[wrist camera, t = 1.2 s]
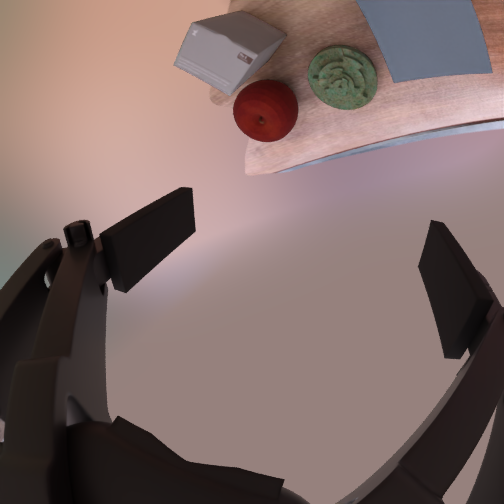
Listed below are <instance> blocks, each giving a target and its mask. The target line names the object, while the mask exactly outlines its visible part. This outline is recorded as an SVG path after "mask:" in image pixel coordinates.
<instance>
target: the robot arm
mask: <svg viewBox="0 0 504 504" xmlns="http://www.w3.org/2000/svg"><path fill="white" fill-rule="evenodd" d="M192 192H193V191H192V188H188V187H181V188H178V189H177V190H175V191H173V192H171V193H169V194H167V195H166V196H163V197H161V198H160V199H158V200H156V201H154V202H153V203H151V204H149V205H147V206H145V207H144V208H142V209H140V210H138V211H137V212H135V213H133V214H131V215H130V216H128V217H126V218H125V219H123V220H121V221H120V222H118V223H116V224H115V225H113V226H111V227H110V228H108V229H107V230H105V231H103V232H102V233H100V234H99V235H100V236H99V237H98V238H96V239H95V240H94V238H93V234H92V230H91V226H90V221H88V220H79V221H76V222H73V223H70V224H69V225H67V226H65V227H64V229H63V230H64V234H65V237H66V241H67V244H68V247H67V248H62V246H61V243H60V239H57V238H53V239H51V238H50V239H47V240H45V241H44V242H43V243H41V244H40V245H39V246H38V247H37V248H36V249H35V250H34V251H33V252H32V253H31V254H30V256H29V257H28V258H27V259H26V260H25V261H24V262H23V263H22V264H21V266H20V267H19V268H18V269H17V270H16V271H15V273H14V274H13V275H12V276H11V278H10V279H9V280H8V281H7V282H6V284H5V285H4V286H3V288H2V289H1V290H0V504H310V503H309V502H307V501H306V500H305V499H303V498H302V497H301V496H299V495H297V494H295V493H294V492H292V491H290V490H288V489H286V488H284V487H282V486H283V483H284V479H280V478H276V477H271V476H267V475H263V474H258V473H255V472H251V471H247V470H244V469H241V468H237V467H236V468H235V467H225V466H216V465H208V464H200V463H194V462H189V461H186V460H184V459H183V458H181V457H180V456H179V455H177V454H176V453H175V452H173V451H172V450H171V449H169V448H168V447H167V446H166V445H165V444H163V443H162V442H161V441H160V440H158V439H157V438H156V437H155V436H154V435H153V434H151V433H149V432H148V431H146V430H144V429H142V428H140V427H138V426H136V425H134V424H132V423H130V422H129V421H127V420H125V419H123V418H122V417H120V416H117V418H116V419H115V420H114V422H113V423H112V420H111V418H110V416H109V413H108V407H107V393H106V368H105V337H106V311H107V296H108V287H107V284H106V282H107V281H108V280H109V279H110V278H111V280H112V283H113V286H114V289H115V290H118V291H121V292H124V293H127V292H128V291H129V290H130V289H131V288H132V287H133V286H134V285H135V284H136V283H138V282H139V281H140V280H141V279H142V278H143V277H144V276H145V275H146V274H148V273H149V272H150V271H151V270H152V269H153V268H154V267H155V266H156V265H158V264H159V263H160V262H161V261H162V260H163V259H164V258H165V257H167V256H168V255H169V254H170V253H171V252H172V251H173V250H175V249H176V248H177V247H178V246H179V245H180V244H181V243H183V242H184V241H185V240H186V239H187V238H188V237H190V236H191V235H192V234H193V233H194V232H195V231H196V229H195V218H194V205H193V193H192ZM418 268H419V271H420V273H421V276H422V279H423V282H424V285H425V288H426V291H427V294H428V297H429V300H430V303H431V307H432V310H433V314H434V317H435V321H436V324H437V328H438V332H439V336H440V340H441V344H442V349H443V353H444V358H449V359H461V357H462V356H463V354H464V352H465V351H466V349H467V348H468V350H469V353H470V356H469V358H468V360H467V361H466V362H465V364H464V365H463V367H462V368H461V369H460V371H459V372H458V373H457V377H456V378H455V380H454V381H453V383H452V384H451V386H450V387H449V389H448V390H447V391H446V393H445V394H444V396H443V397H442V398H441V400H440V401H439V403H438V404H437V405H436V407H435V408H434V409H433V410H432V412H431V413H430V414H429V416H428V417H427V418H426V419H425V421H424V422H423V423H422V424H421V425H420V427H419V428H418V429H417V430H416V431H415V432H414V434H413V435H412V436H411V437H410V438H409V439H408V440H407V441H406V443H405V444H404V445H403V446H402V447H401V448H400V449H399V450H398V451H397V452H396V453H395V454H394V455H393V456H392V457H391V458H390V459H389V460H388V461H387V462H386V463H385V464H384V465H383V466H382V467H381V468H380V469H379V470H378V471H376V472H375V473H374V474H373V475H372V476H371V477H370V478H369V479H367V480H366V481H365V482H364V483H363V484H362V485H360V486H359V487H358V488H357V489H355V490H354V491H353V492H352V493H350V494H349V495H347V496H346V497H345V498H343V499H342V500H340V501H339V502H337V503H336V504H444V502H443V500H442V498H443V495H444V494H445V492H446V491H447V489H448V488H449V487H450V485H451V484H452V483H453V481H454V480H455V478H456V477H457V475H458V474H459V473H460V471H461V470H462V468H463V467H464V465H465V464H466V462H467V460H468V459H469V457H470V455H471V454H472V452H473V450H474V449H475V447H476V445H477V444H478V442H479V440H480V438H481V436H482V434H483V433H484V431H485V429H486V427H487V425H488V423H489V421H490V419H491V416H492V414H493V412H494V410H495V408H496V406H497V409H496V414H495V419H494V423H493V428H492V432H491V435H490V439H489V443H488V446H487V450H486V453H485V456H484V459H483V462H482V465H481V468H480V471H479V474H478V476H477V479H476V482H475V484H474V487H473V489H472V491H471V494H470V496H469V499H468V501H467V503H466V504H504V307H502V306H501V304H500V303H499V301H498V299H497V297H496V295H495V294H494V292H493V290H492V288H491V287H490V286H489V283H488V282H487V280H486V279H485V277H484V276H483V275H482V274H481V273H480V272H478V271H477V270H476V269H475V267H474V266H473V264H472V263H471V261H470V260H469V258H468V256H467V255H466V253H465V252H464V250H463V249H462V248H461V246H460V245H459V243H458V242H457V240H456V239H455V238H454V236H453V235H452V233H451V232H450V231H449V229H448V228H447V227H446V225H445V224H444V223H443V222H438V221H434V220H431V223H430V227H429V230H428V234H427V238H426V242H425V245H424V249H423V252H422V256H421V259H420V262H419V265H418ZM45 273H46V276H47V278H48V281H49V283H50V286H49V288H47V286H46V284H45V281H44V276H45Z"/></svg>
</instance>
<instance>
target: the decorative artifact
mask: <svg viewBox="0 0 504 504" xmlns="http://www.w3.org/2000/svg"><path fill="white" fill-rule="evenodd" d="M308 80H309V84H310V87H311V89H312V90H313V92H314V93H315V95H316V96H317V97H318V98H319V99H320V100H321V101H323V102H324V103H326V104H327V105H329V106H332V107H334V108H338V109H343V110H353V109H357V108H360V107H363V106H364V105H366V104H367V103H369V102H370V101H371V100H372V98H373V97H374V95H375V93H376V90H377V74H376V70H375V67H374V65H373V63H372V62H371V60H370V59H369V58H368V57H367V56H366V55H365V54H364V53H362V52H361V51H359V50H357V49H355V48H353V47H350V46H345V45H334V46H330V47H327V48H325V49H323V50H321V51H320V52H319V53H318V54H317V55H316V56H315V58H314V59H313V60H312V62H311V63H310V66H309V69H308Z"/></svg>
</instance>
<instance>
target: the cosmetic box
mask: <svg viewBox="0 0 504 504" xmlns="http://www.w3.org/2000/svg"><path fill="white" fill-rule="evenodd" d="M286 36H287V34H285V33H283V32H282V31H280V30H278V29H277V28H275V27H273V26H271V25H269V24H268V23H266V22H264V21H262V20H260V19H258V18H256V17H254V16H252V15H250V14H248V13H246V12H244V11H238V12H233V13H228V14H224V15H220V16H215V17H212V18H208V19H204V20H200V21H197V22H193V23H192V24H191V26H190V28H189V30H188V32H187V34H186V37H185V39H184V41H183V43H182V45H181V48H180V50H179V53H178V55H177V57H176V60H175V62H174V66H176V67H178V68H180V69H182V70H184V71H186V72H187V73H189V74H191V75H193V76H195V77H197V78H199V79H200V80H202V81H204V82H206V83H208V84H209V85H211V86H213V87H215V88H217V89H218V90H220V91H222V92H224V93H225V94H227V95H229V96H230V95H231V94H232V93H233V92H234V91H236V90H237V89H238V88H239V87H240V86H241V85H242V84H243V83H244V82H245V81H246V80H247V79H249V78H250V77H251V76H252V75H253V74H254V73H255V72H256V71H257V70H259V69H260V68H261V67H262V66H263V65H264V64H265V63H267V62H268V60H269V59H270V58H271V56H272V55H273V54H274V52H275V51H276V49H277V48H278V47H279V45H280V44H281V42H282V41H283V40H284V39H285V37H286Z"/></svg>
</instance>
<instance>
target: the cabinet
mask: <svg viewBox="0 0 504 504" xmlns="http://www.w3.org/2000/svg"><path fill="white" fill-rule="evenodd" d="M356 2H357V3H358V5H359V7H360V9H361V11H362V12H363V14H364V16H365V18H366V20H367V22H368V24H369V26H370V28H371V30H372V32H373V34H374V36H375V38H376V40H377V43H378V45H379V47H380V49H381V52H382V54H383V56H384V59H385V61H386V64H387V66H388V69H389V71H390V74H391V77H392V79H393V82H394V83H398V82H403V81H410V80H416V79H423V78H431V77H440V76H450V75H462V74H483V73H492V68H491V63H490V59H489V55H488V51H487V47H486V43H485V40H484V36H483V33H482V30H481V27H480V24H479V21H478V18H477V15H476V12H475V10H474V7H473V4H472V2H471V0H356Z"/></svg>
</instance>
